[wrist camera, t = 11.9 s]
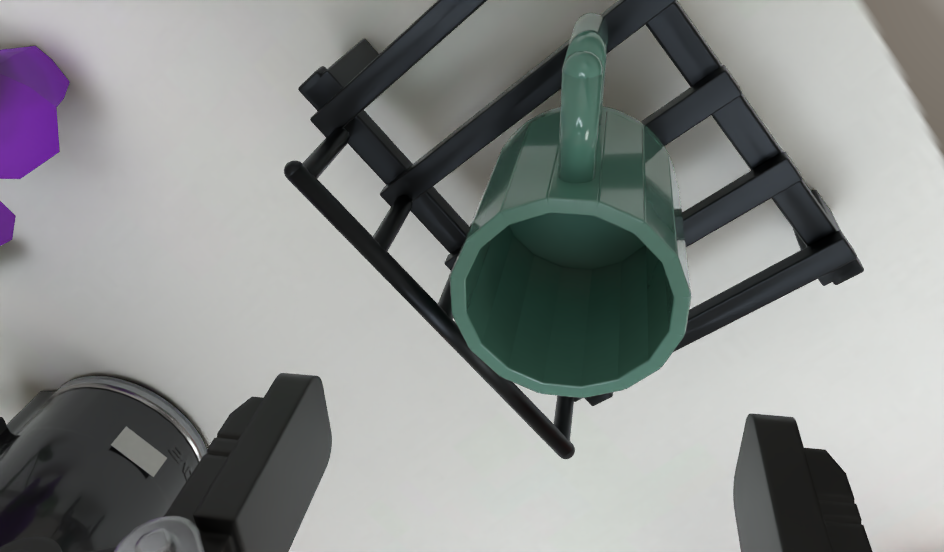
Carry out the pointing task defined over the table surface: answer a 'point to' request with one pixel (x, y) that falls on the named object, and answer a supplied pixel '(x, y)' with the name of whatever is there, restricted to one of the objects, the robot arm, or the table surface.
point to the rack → (411, 185)
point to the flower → (27, 117)
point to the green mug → (576, 244)
